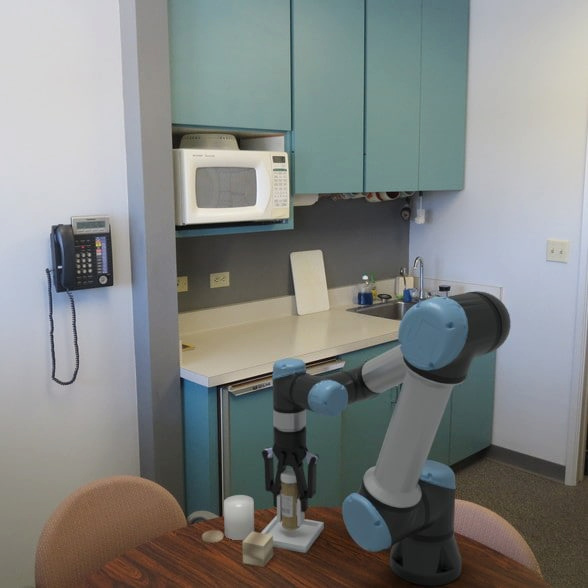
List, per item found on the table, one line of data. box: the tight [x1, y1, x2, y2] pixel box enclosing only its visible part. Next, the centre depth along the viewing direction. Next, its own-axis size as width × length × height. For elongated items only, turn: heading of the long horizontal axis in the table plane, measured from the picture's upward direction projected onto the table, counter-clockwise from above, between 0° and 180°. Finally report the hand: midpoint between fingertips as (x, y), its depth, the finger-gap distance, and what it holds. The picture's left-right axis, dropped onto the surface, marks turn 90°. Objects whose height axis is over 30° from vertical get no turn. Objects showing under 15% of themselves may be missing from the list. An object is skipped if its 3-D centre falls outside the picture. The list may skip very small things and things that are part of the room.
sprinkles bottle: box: [280, 468, 300, 530], centre depth 161 cm, size 5×5×13 cm
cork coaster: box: [201, 529, 225, 544], centre depth 162 cm, size 5×5×1 cm
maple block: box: [241, 531, 274, 568], centre depth 152 cm, size 5×5×5 cm
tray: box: [260, 514, 325, 554], centre depth 162 cm, size 12×12×2 cm
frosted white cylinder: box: [223, 494, 255, 541], centre depth 164 cm, size 8×7×8 cm
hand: (290, 521), depth 162 cm, fingers closed on sprinkles bottle, 4 cm apart
